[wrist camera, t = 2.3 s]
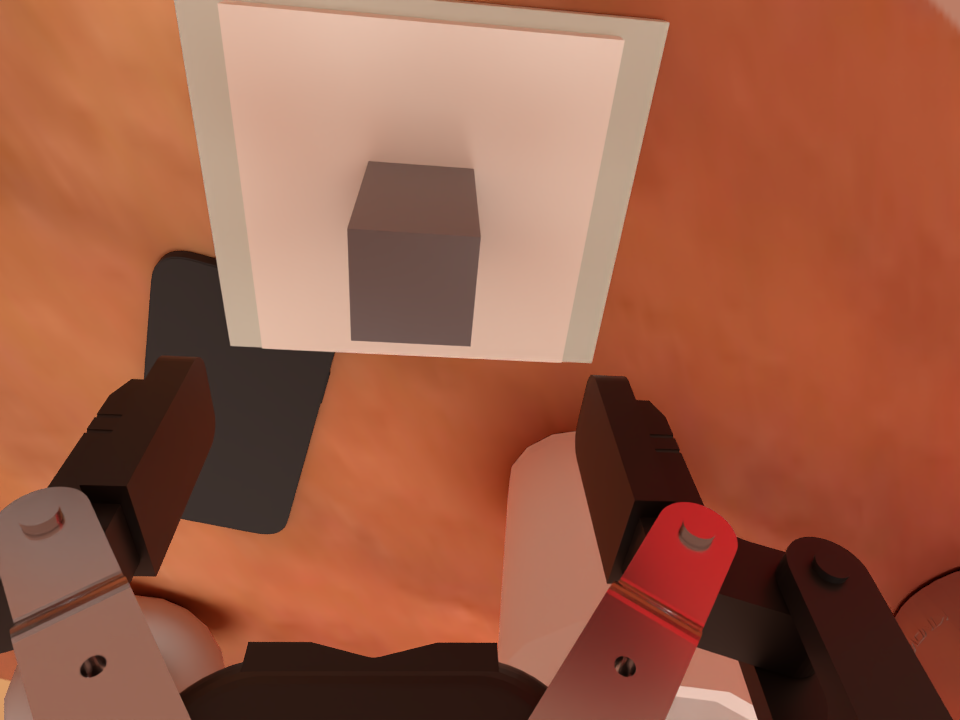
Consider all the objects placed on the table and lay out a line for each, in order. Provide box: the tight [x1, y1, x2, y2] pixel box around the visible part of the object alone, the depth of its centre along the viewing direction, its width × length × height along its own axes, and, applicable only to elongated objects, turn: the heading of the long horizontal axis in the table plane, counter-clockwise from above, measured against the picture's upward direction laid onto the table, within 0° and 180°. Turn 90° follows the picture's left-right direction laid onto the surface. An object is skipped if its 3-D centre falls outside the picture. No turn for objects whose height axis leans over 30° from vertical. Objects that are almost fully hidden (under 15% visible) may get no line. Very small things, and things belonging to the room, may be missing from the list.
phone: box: [144, 251, 335, 534], centre depth 29 cm, size 7×1×15 cm
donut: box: [4, 595, 225, 720], centre depth 32 cm, size 10×4×10 cm, turn 59°
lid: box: [217, 0, 625, 363], centre depth 20 cm, size 12×12×6 cm
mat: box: [174, 0, 669, 363], centre depth 23 cm, size 15×13×1 cm
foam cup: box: [498, 431, 758, 720], centre depth 27 cm, size 10×9×13 cm
